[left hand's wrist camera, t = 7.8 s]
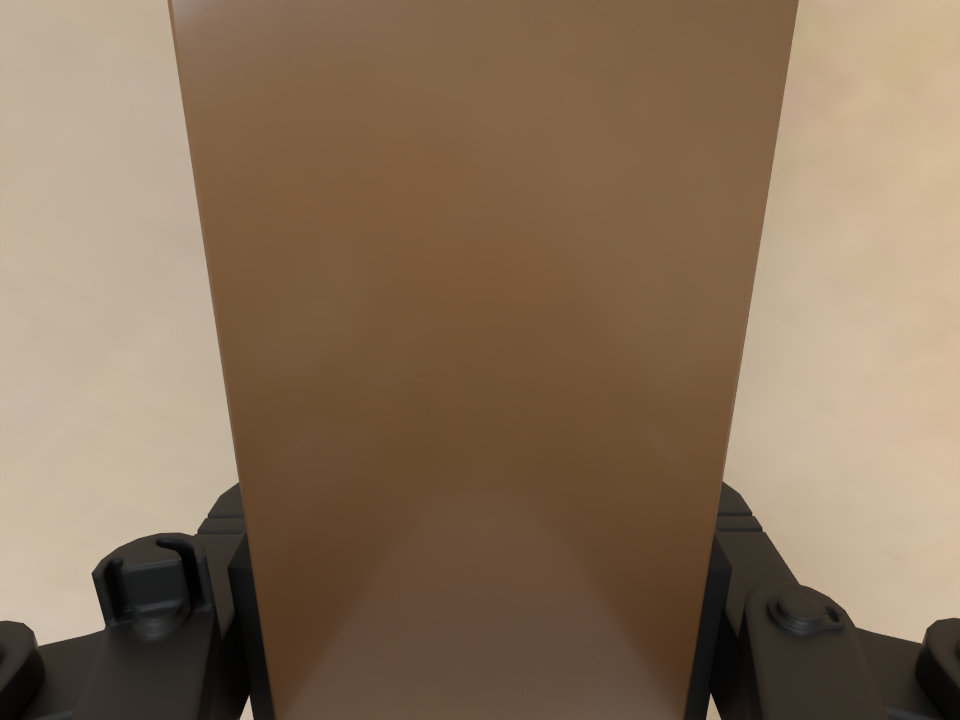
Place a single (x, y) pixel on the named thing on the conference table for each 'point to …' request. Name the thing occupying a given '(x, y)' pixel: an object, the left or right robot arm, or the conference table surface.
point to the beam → (481, 334)
